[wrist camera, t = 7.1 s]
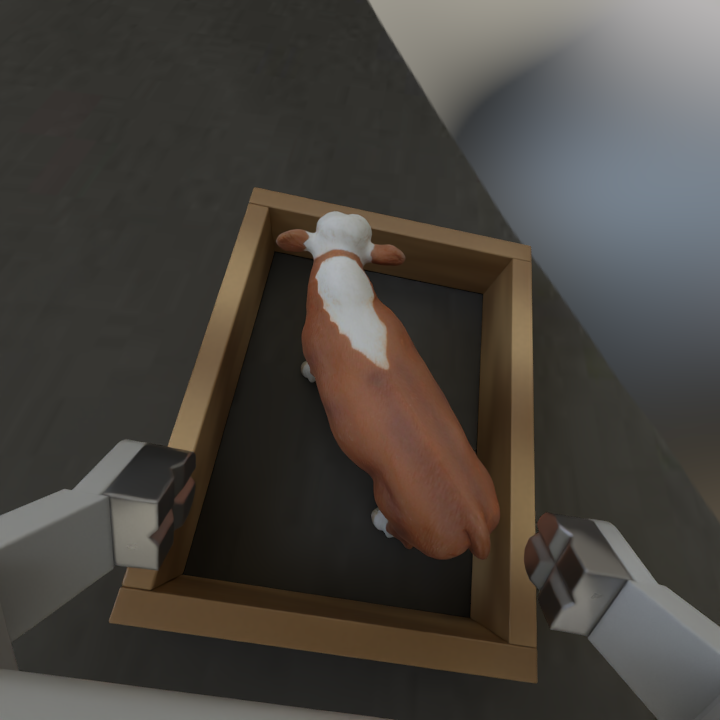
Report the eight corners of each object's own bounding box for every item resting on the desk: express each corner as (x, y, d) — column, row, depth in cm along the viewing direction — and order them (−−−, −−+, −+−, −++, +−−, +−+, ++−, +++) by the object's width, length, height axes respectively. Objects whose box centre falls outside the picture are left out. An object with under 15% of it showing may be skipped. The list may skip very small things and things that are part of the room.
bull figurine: (350, 284, 22) (373, 163, 14) (459, 529, 18) (572, 544, 10) (272, 306, 21) (253, 188, 13) (371, 572, 17) (424, 624, 9)
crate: (491, 649, 16) (538, 684, 13) (149, 599, 15) (107, 623, 12) (499, 283, 23) (531, 245, 20) (261, 233, 22) (253, 186, 19)
